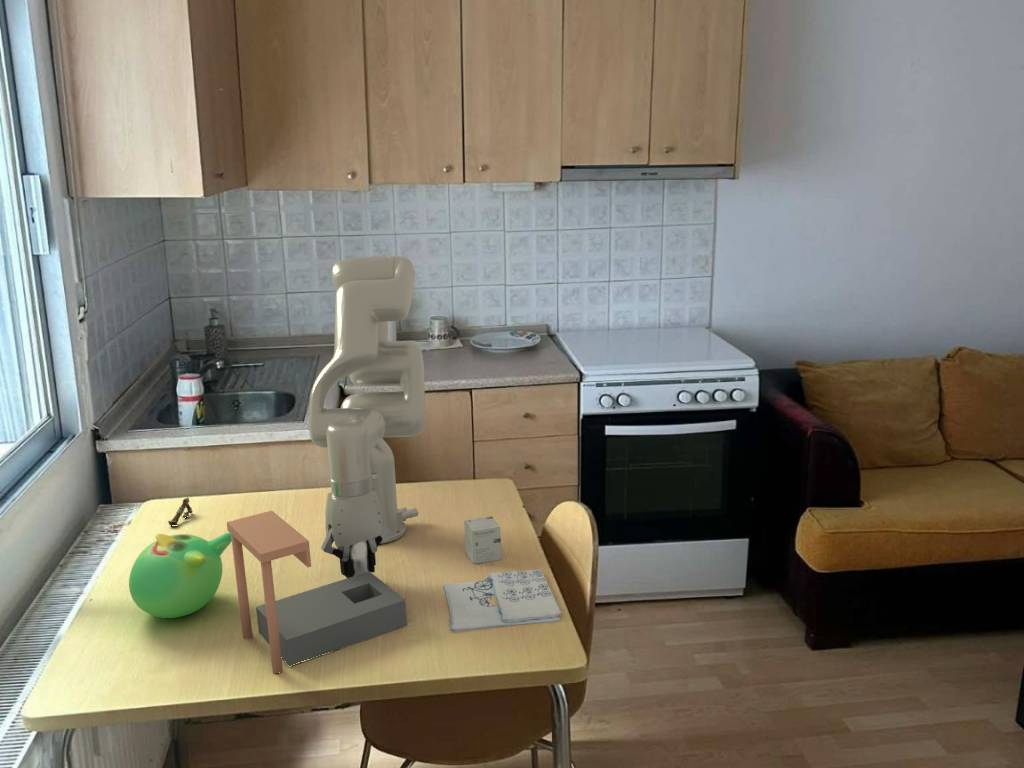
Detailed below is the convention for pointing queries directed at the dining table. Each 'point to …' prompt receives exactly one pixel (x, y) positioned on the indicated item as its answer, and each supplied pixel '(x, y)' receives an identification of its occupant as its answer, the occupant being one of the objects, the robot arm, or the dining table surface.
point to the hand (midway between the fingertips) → (358, 572)
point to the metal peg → (359, 558)
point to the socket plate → (334, 616)
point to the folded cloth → (501, 601)
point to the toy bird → (177, 574)
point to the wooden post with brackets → (181, 512)
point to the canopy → (265, 566)
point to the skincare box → (482, 539)
